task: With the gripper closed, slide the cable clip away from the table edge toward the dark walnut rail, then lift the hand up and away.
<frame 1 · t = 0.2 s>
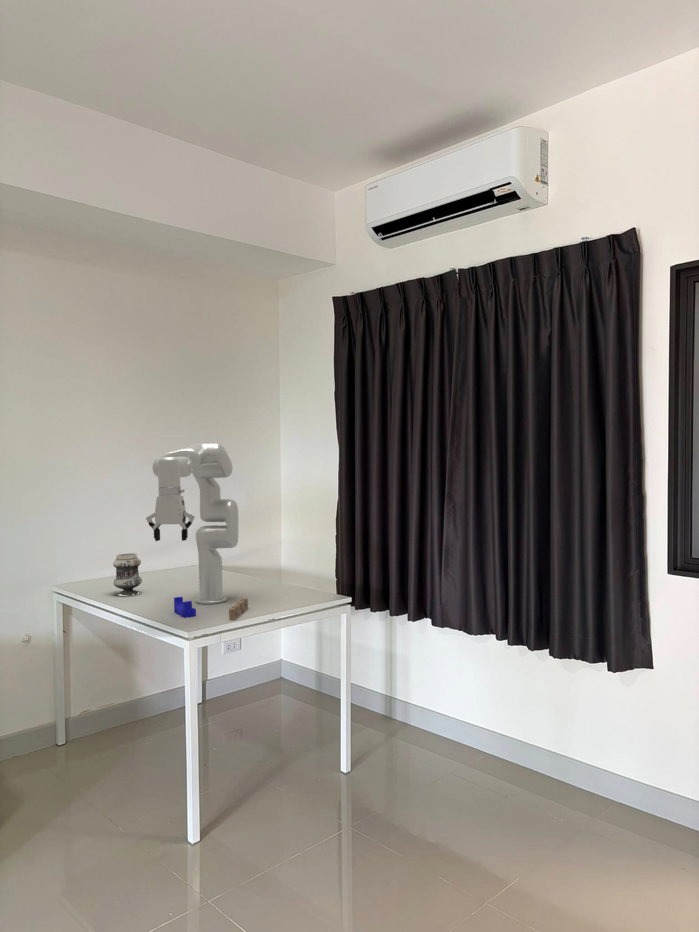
hand: (170, 540, 247), 31 cm above the table, tool pointing down, fingers open, 9 cm apart
apothecary jar: (128, 594, 312), on the table
walnut rail: (238, 614, 266), on the table
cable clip: (184, 615, 268), on the table
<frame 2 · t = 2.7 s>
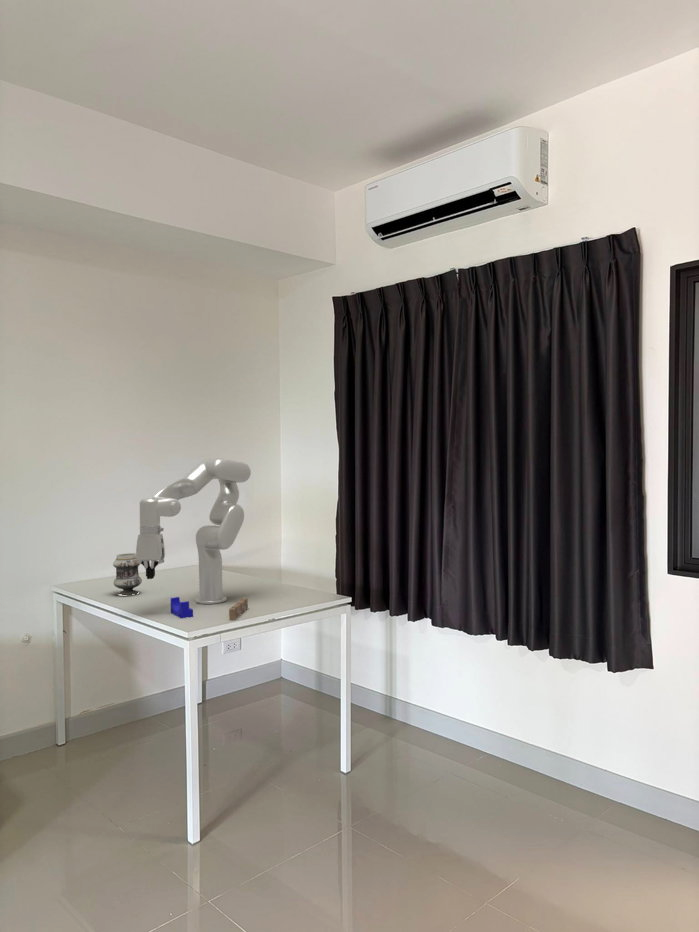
hand: (150, 578, 268), 14 cm above the table, tool pointing down, fingers closed
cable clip: (181, 615, 267), on the table
everything else where it was.
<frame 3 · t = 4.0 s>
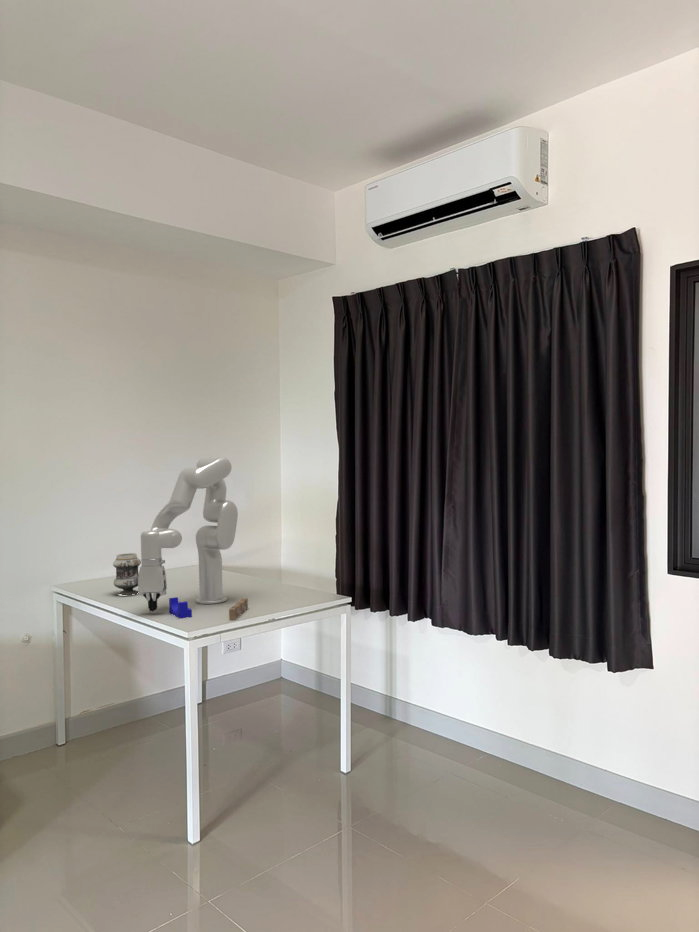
hand: (152, 610, 269), 2 cm above the table, tool pointing down, fingers closed
nothing on the table moved.
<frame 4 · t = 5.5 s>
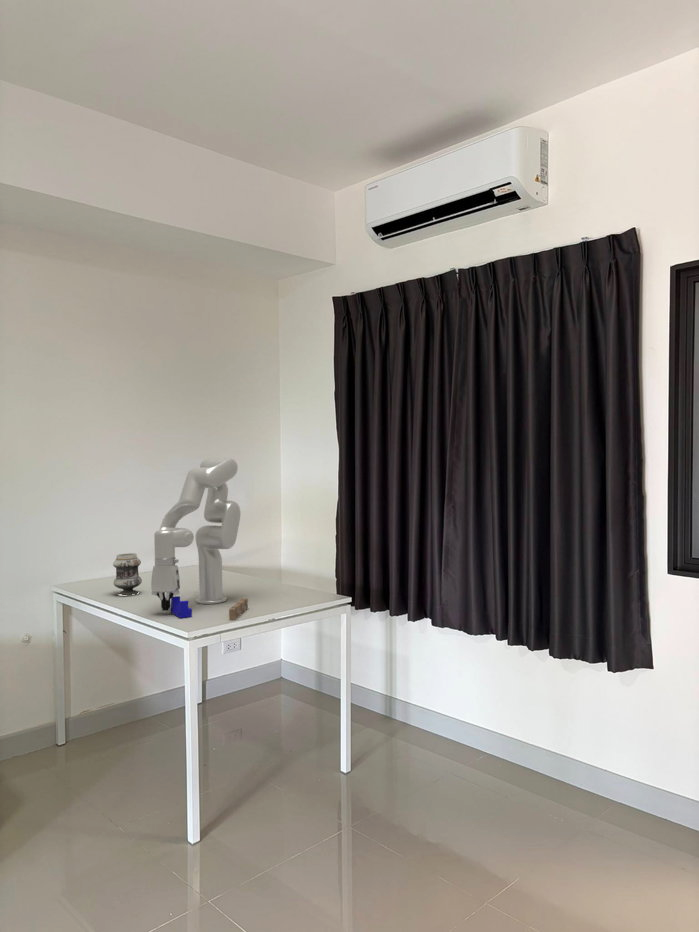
hand: (165, 609, 268), 2 cm above the table, tool pointing down, fingers closed
nothing on the table moved.
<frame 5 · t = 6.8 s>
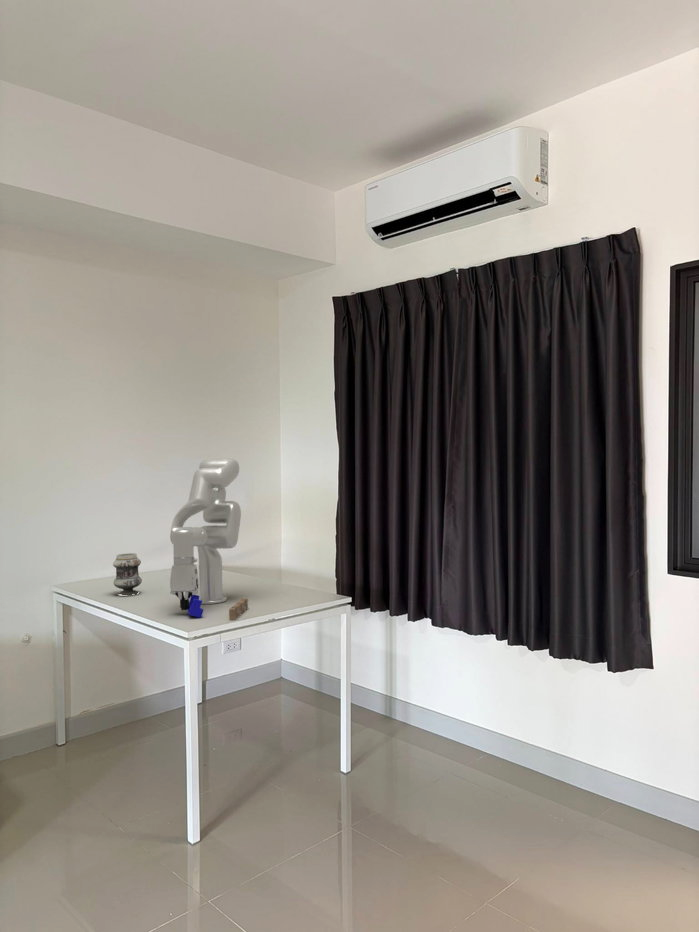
hand: (184, 609, 267), 2 cm above the table, tool pointing down, fingers closed
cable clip: (193, 613, 266), point 1 cm above the table, touching gripper
everything else where it was.
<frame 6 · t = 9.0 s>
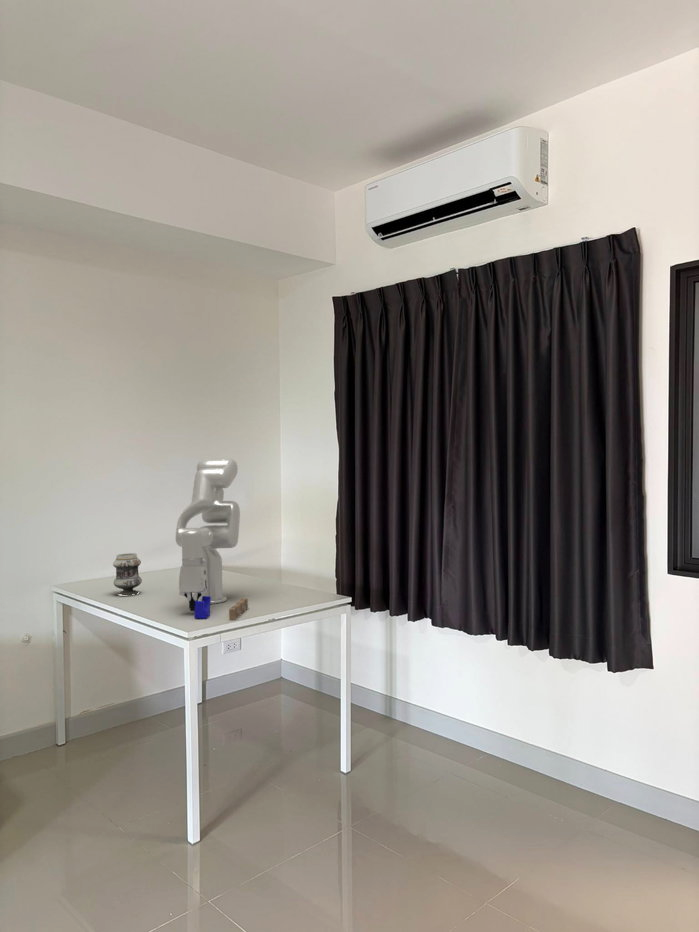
hand: (193, 610, 267), 2 cm above the table, tool pointing down, fingers closed
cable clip: (204, 615, 265), on the table, touching gripper
everything else where it was.
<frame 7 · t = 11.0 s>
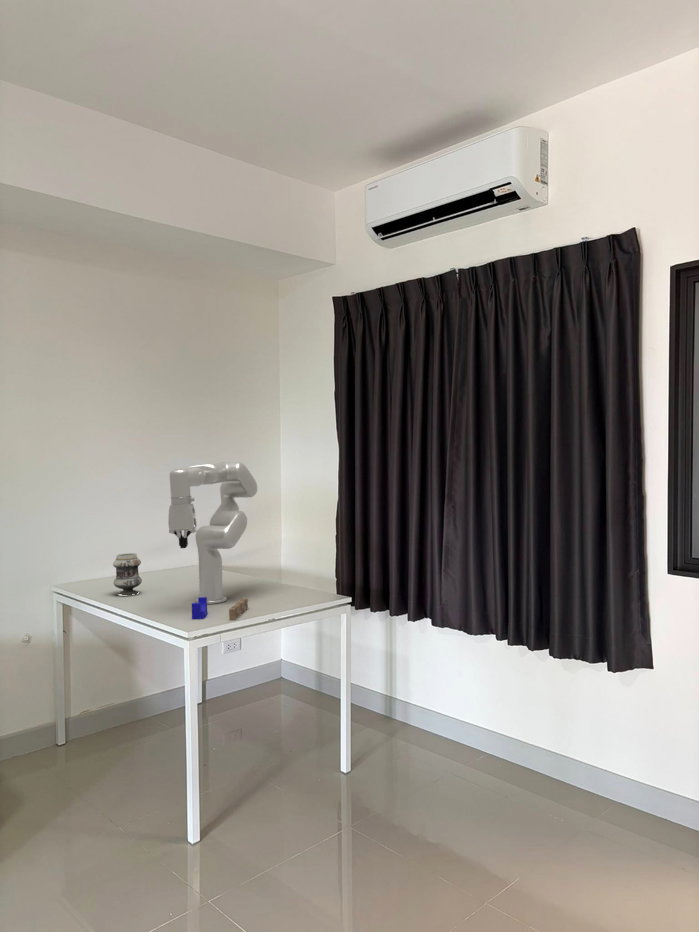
hand: (183, 547, 273), 25 cm above the table, tool pointing down, fingers closed
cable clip: (201, 616, 265), on the table
everything else where it was.
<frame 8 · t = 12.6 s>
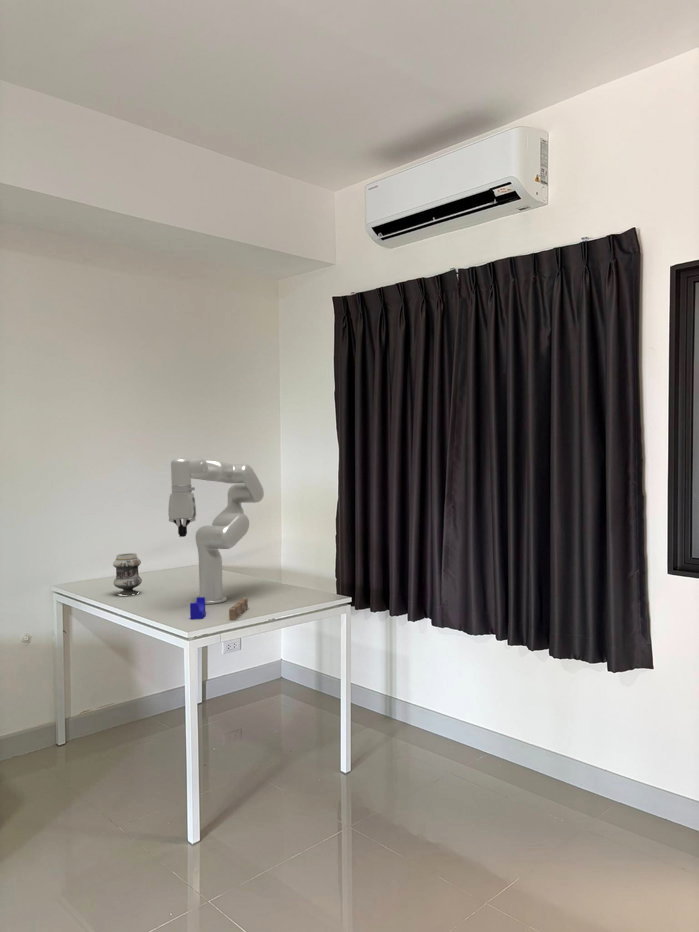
hand: (182, 536, 276), 29 cm above the table, tool pointing down, fingers closed
nothing on the table moved.
at the end: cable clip inside the target area (6.2 cm from its centre), on the table; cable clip moved 6.8 cm from its start; the gripper is holding nothing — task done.
